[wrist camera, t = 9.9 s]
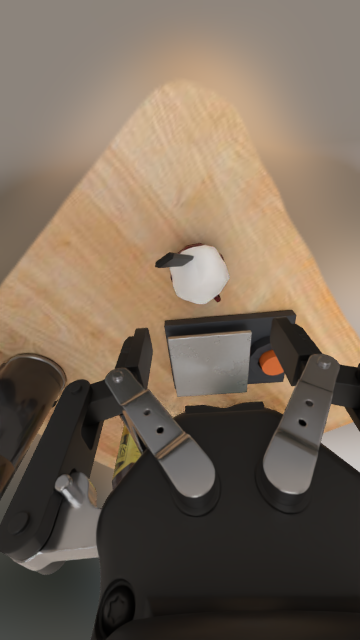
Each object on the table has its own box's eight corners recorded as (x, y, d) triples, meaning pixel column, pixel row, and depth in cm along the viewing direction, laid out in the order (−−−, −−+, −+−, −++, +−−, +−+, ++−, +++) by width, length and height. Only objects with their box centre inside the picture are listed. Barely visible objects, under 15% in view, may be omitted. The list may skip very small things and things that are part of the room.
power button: (258, 368, 34) (261, 376, 33) (260, 350, 32) (263, 357, 31) (282, 367, 34) (286, 374, 33) (285, 348, 32) (290, 355, 31)
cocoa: (226, 288, 30) (249, 346, 20) (180, 298, 31) (179, 358, 21) (214, 211, 25) (237, 237, 15) (160, 226, 26) (147, 259, 16)
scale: (175, 382, 40) (174, 396, 37) (164, 320, 33) (163, 332, 30) (281, 375, 39) (288, 389, 36) (294, 309, 32) (303, 321, 29)
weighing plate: (177, 393, 37) (177, 396, 36) (168, 336, 31) (167, 339, 30) (245, 389, 36) (246, 392, 36) (250, 330, 30) (251, 332, 30)
